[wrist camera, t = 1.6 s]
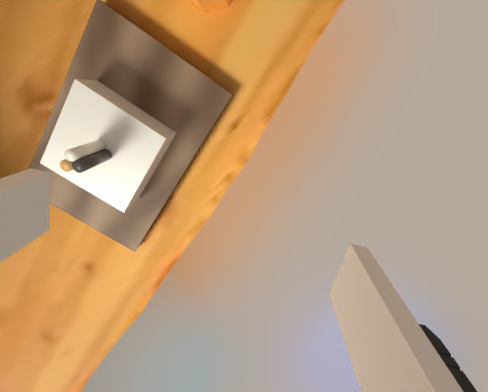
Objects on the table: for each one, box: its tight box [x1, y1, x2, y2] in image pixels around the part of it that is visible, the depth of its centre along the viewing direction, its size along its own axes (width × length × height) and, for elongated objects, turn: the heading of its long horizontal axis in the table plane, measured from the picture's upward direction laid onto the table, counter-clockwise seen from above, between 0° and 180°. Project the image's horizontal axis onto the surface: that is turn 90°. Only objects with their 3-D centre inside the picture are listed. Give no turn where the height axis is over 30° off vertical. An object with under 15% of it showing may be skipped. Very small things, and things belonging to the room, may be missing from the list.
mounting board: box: [29, 0, 233, 252], centre depth 34 cm, size 16×24×2 cm, turn 146°
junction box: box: [40, 79, 176, 213], centre depth 29 cm, size 10×10×9 cm
